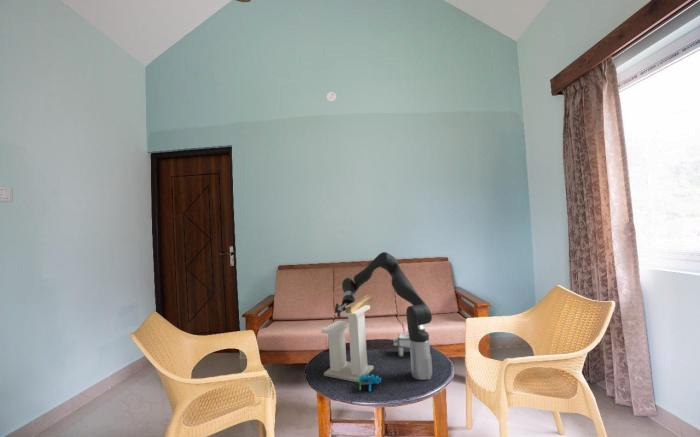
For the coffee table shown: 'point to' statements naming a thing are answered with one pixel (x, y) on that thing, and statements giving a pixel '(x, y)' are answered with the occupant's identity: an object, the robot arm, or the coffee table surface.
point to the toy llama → (404, 341)
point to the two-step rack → (357, 347)
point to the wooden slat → (358, 304)
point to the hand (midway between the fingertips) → (347, 316)
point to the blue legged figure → (368, 380)
